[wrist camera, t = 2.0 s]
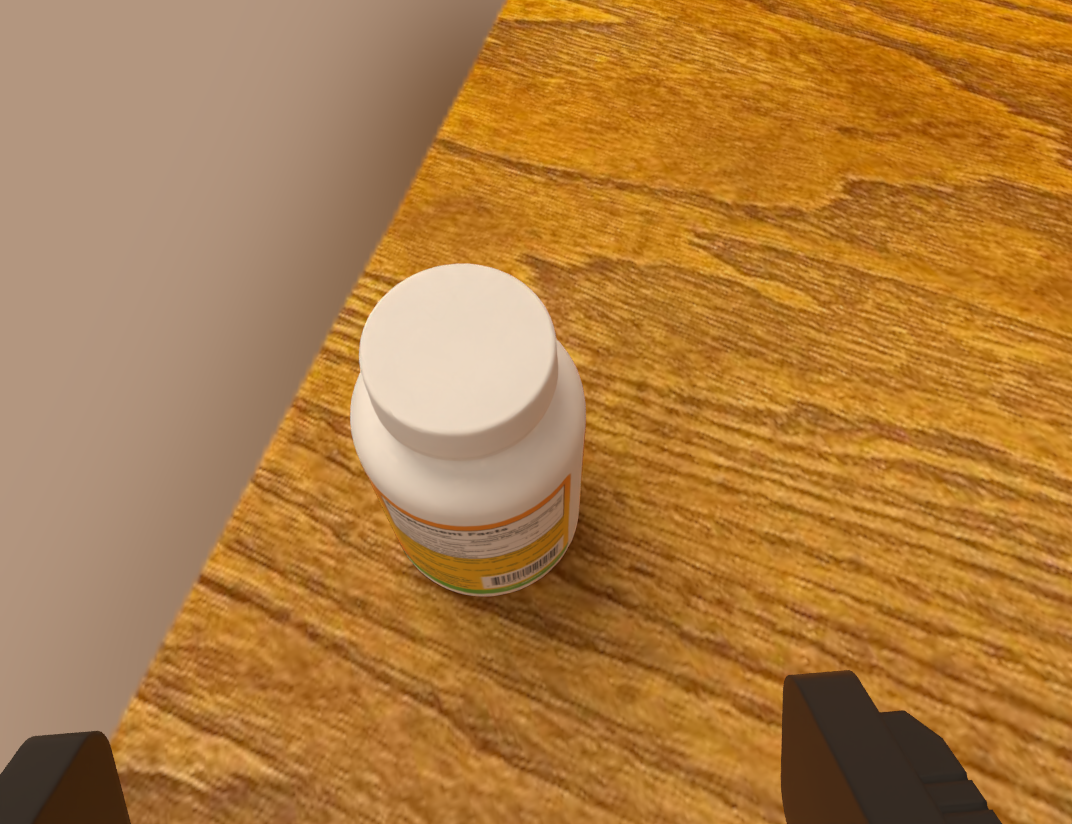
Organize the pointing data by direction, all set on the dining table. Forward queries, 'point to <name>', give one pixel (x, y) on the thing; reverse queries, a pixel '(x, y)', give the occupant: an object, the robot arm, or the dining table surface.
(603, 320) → the dining table surface
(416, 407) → the supplement bottle
